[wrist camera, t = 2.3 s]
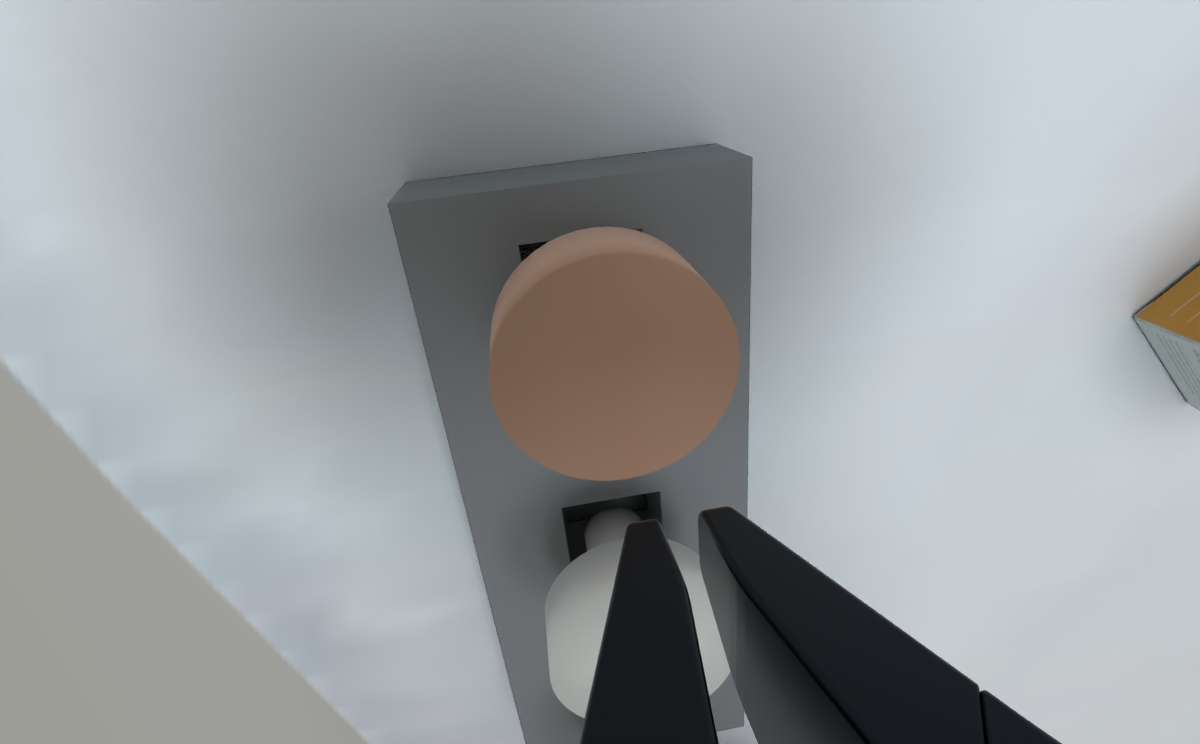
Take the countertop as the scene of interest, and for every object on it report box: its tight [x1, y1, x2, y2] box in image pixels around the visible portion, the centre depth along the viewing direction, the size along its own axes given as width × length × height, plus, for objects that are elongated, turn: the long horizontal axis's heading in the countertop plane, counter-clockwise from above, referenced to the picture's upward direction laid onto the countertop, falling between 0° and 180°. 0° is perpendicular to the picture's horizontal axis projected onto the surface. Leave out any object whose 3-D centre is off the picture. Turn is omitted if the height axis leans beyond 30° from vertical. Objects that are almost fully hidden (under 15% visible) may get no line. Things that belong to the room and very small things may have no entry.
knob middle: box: [545, 508, 731, 718], centre depth 18 cm, size 5×5×5 cm
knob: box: [489, 227, 740, 481], centre depth 14 cm, size 5×5×5 cm
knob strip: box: [388, 143, 752, 744], centre depth 22 cm, size 23×9×3 cm, turn 6°
